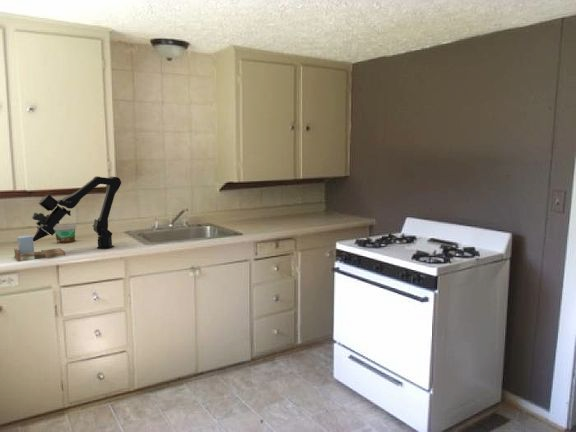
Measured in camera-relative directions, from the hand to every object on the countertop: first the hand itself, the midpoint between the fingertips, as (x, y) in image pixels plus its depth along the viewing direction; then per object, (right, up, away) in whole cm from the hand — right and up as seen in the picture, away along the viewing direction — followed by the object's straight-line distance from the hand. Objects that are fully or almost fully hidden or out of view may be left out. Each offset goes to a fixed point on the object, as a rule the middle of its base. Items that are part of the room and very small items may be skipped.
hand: (33, 240), depth 234 cm
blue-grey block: (-3, -7, -1) cm, 7 cm away
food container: (0, -3, +36) cm, 36 cm away
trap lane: (+2, -8, +3) cm, 8 cm away
